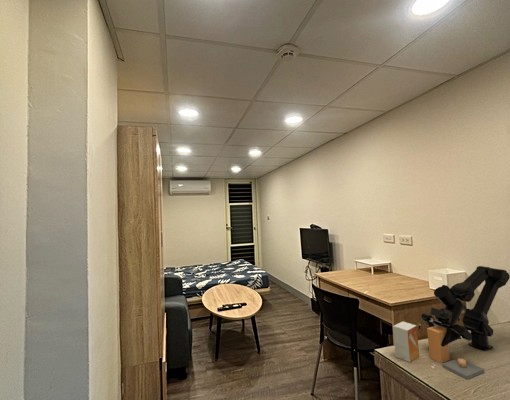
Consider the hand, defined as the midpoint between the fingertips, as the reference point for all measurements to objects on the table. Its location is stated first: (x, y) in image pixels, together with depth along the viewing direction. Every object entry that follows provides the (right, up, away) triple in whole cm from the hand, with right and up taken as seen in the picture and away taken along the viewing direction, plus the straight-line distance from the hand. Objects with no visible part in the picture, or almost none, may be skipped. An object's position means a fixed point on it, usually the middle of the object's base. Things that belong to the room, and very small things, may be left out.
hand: (435, 343), depth 111 cm
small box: (-10, -8, +3) cm, 13 cm away
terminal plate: (+5, -6, -8) cm, 11 cm away
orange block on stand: (+2, -7, 0) cm, 7 cm away
